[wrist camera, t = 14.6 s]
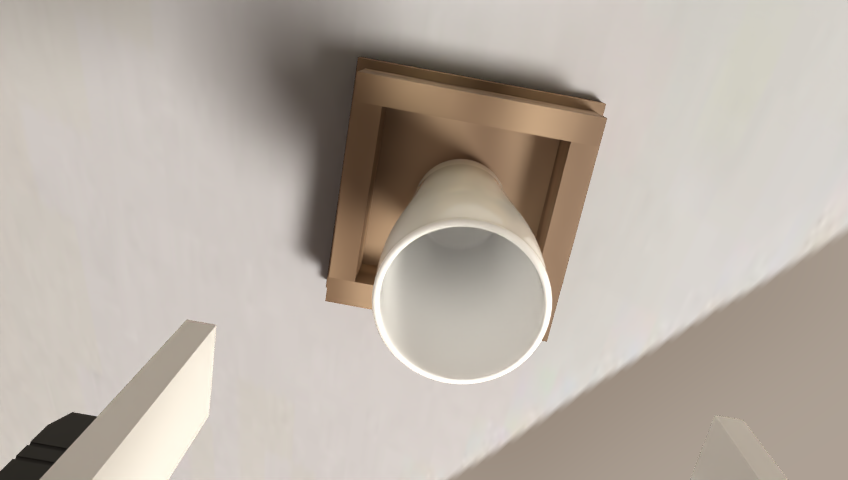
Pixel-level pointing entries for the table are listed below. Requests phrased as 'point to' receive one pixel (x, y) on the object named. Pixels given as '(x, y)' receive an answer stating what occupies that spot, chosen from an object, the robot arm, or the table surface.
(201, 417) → the robot arm
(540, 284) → the drinking glass
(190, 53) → the table surface
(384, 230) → the walnut dock
